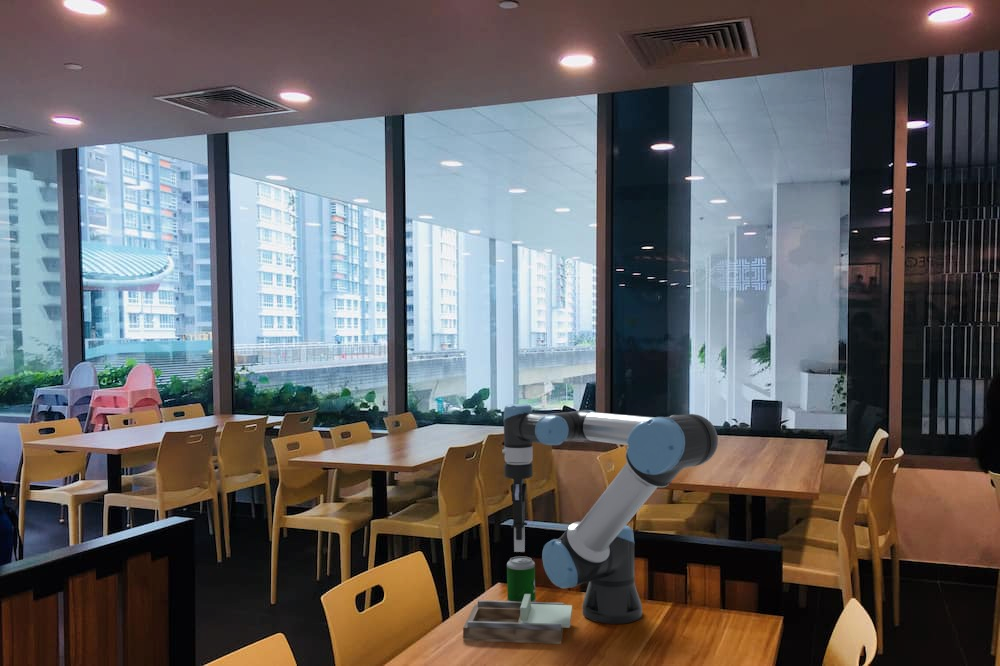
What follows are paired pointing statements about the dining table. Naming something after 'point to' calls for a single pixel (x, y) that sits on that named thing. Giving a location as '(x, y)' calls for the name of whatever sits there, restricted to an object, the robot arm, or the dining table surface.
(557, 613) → the lid
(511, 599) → the soda can
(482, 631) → the wooden tray box
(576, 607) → the dining table surface
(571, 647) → the dining table surface
